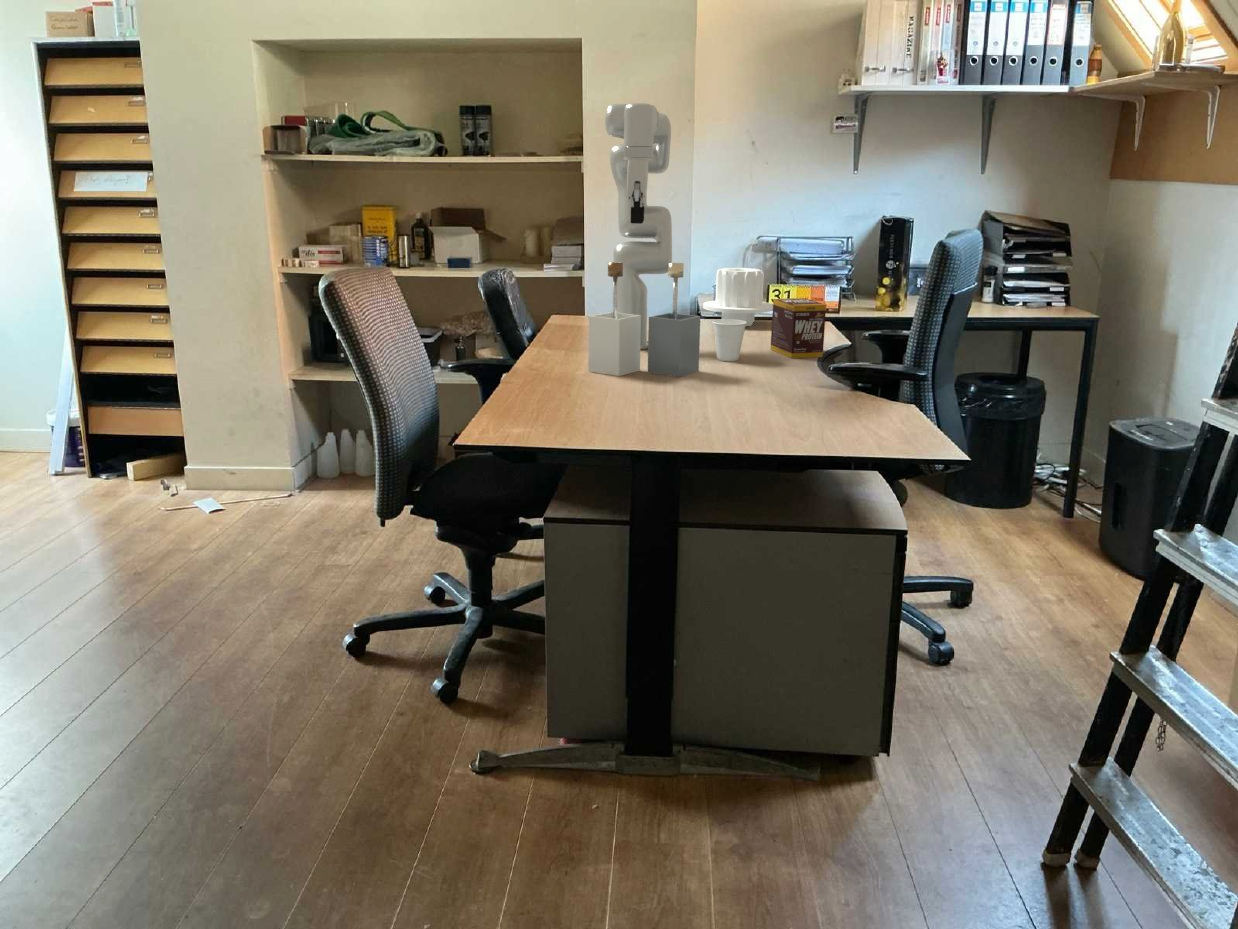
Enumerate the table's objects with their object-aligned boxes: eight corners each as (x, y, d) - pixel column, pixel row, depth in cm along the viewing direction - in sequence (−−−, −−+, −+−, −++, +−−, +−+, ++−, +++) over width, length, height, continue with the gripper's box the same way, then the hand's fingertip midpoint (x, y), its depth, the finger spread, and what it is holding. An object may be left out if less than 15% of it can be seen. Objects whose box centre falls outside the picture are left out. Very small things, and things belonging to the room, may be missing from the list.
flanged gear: (695, 327, 355) (697, 271, 350) (710, 317, 378) (712, 265, 373) (767, 331, 348) (770, 274, 343) (778, 320, 371) (781, 267, 366)
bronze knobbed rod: (593, 336, 276) (594, 262, 271) (611, 332, 282) (611, 260, 277) (618, 339, 272) (619, 264, 266) (635, 335, 278) (636, 262, 273)
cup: (743, 363, 292) (745, 324, 289) (708, 361, 294) (710, 323, 291) (746, 357, 301) (748, 319, 298) (712, 355, 303) (714, 318, 300)
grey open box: (647, 372, 278) (648, 316, 274) (667, 366, 286) (669, 312, 282) (679, 377, 273) (680, 320, 269) (698, 371, 281) (700, 316, 276)
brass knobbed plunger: (653, 336, 276) (655, 263, 270) (669, 333, 282) (671, 261, 277) (678, 340, 272) (680, 265, 266) (694, 336, 278) (697, 263, 272)
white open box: (588, 371, 279) (588, 316, 274) (610, 365, 286) (610, 311, 282) (618, 376, 273) (619, 319, 269) (639, 370, 281) (640, 315, 277)
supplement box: (791, 358, 300) (794, 305, 296) (769, 349, 315) (772, 298, 310) (823, 357, 303) (827, 304, 299) (801, 348, 317) (804, 297, 313)
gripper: (625, 154, 274) (624, 220, 279) (622, 153, 257) (621, 224, 262) (653, 154, 274) (652, 220, 278) (652, 154, 257) (651, 224, 262)
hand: (637, 222), depth 270 cm, fingers open, 9 cm apart
